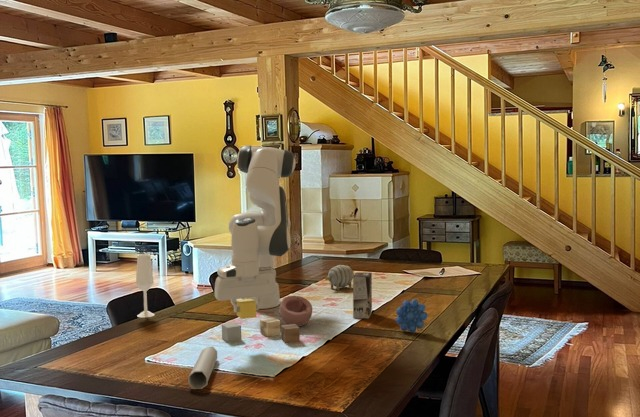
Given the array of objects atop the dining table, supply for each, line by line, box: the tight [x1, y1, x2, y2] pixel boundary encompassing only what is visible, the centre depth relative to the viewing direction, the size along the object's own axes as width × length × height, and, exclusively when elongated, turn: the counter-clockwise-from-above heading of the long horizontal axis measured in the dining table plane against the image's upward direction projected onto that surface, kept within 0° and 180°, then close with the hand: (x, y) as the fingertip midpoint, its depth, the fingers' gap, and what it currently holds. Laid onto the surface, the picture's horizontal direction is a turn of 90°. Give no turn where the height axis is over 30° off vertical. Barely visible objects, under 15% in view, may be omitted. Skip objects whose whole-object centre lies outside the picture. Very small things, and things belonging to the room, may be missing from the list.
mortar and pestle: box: [278, 295, 313, 327], centre depth 230 cm, size 12×12×12 cm
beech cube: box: [259, 317, 281, 338], centre depth 221 cm, size 5×5×5 cm
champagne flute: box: [135, 253, 155, 318], centre depth 248 cm, size 7×7×24 cm
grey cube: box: [221, 322, 242, 343], centre depth 215 cm, size 5×5×5 cm
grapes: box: [395, 298, 429, 334], centre depth 221 cm, size 12×7×12 cm, turn 62°
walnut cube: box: [280, 324, 301, 345], centre depth 212 cm, size 5×5×5 cm
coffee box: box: [352, 272, 373, 319], centre depth 244 cm, size 9×6×16 cm
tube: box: [187, 346, 218, 390], centre depth 182 cm, size 5×5×25 cm
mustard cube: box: [235, 299, 257, 320], centre depth 205 cm, size 5×5×5 cm
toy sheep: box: [324, 264, 355, 291], centre depth 294 cm, size 11×17×11 cm, turn 134°
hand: (246, 310), depth 205 cm, fingers closed on mustard cube, 5 cm apart
